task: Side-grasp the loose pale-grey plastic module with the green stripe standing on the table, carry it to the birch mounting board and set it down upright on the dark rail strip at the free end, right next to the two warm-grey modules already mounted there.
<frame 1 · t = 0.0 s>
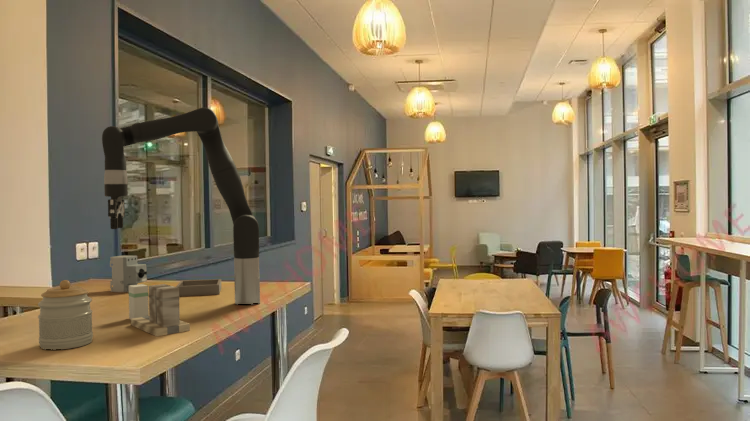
hand: (117, 228, 198), 29 cm above the table, tool pointing down, fingers open, 8 cm apart
coaster tray: (199, 292, 235), on the table
module: (138, 318, 183), on the table
circuit breaker: (130, 291, 242), on the table
rail board: (159, 327, 170), on the table
jar: (66, 345, 151), on the table
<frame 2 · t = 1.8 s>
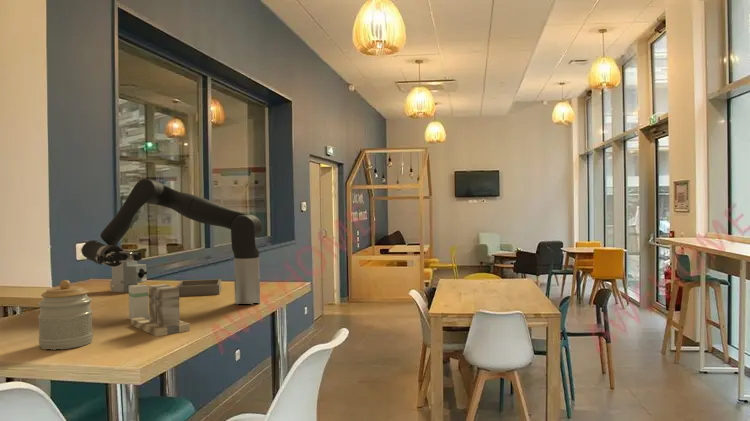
hand: (125, 258, 191), 19 cm above the table, tool horizontal, fingers open, 8 cm apart
nothing on the table moved.
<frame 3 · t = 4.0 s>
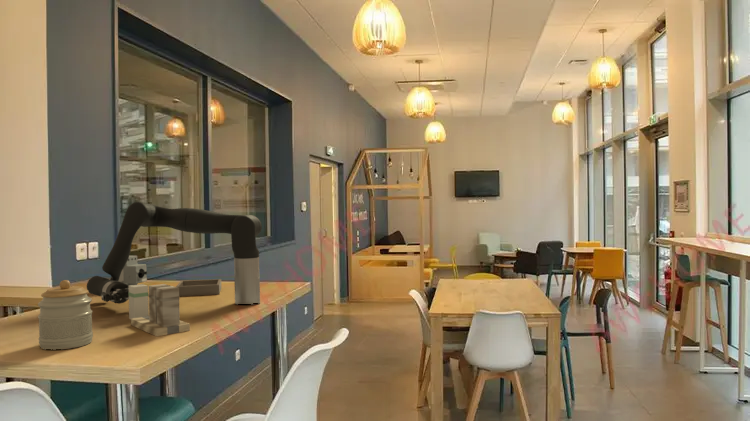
hand: (132, 296, 188), 6 cm above the table, tool horizontal, fingers open, 8 cm apart
nothing on the table moved.
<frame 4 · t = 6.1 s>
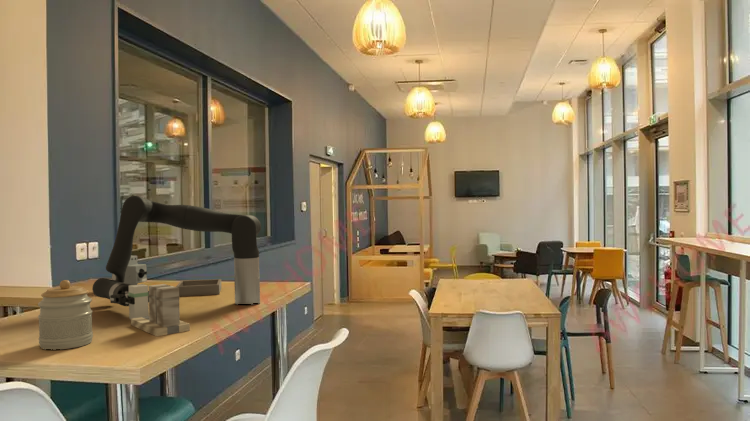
hand: (141, 300, 181), 6 cm above the table, tool horizontal, fingers closed on module, 4 cm apart
module: (139, 318, 183), on the table, touching gripper
everything else where it was.
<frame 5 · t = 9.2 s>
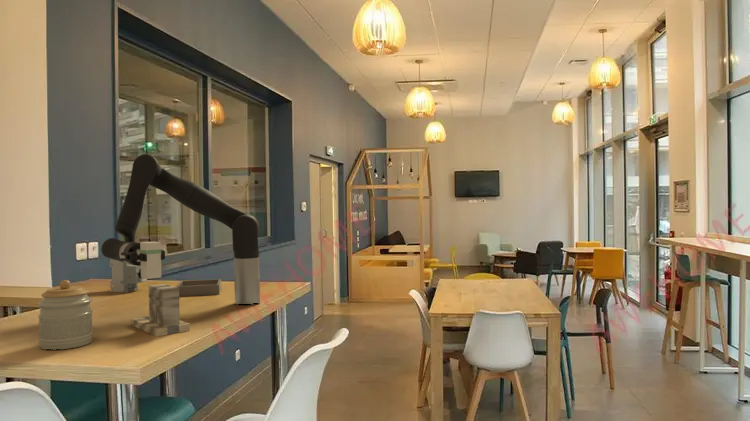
hand: (154, 257, 172), 21 cm above the table, tool horizontal, fingers closed on module, 4 cm apart
module: (151, 277, 174), point 15 cm above the table, touching gripper
everything else where it was.
when the fingers open (10 cm above the table, at t = 12.2 s): module drops 1 cm, resting on rail board.
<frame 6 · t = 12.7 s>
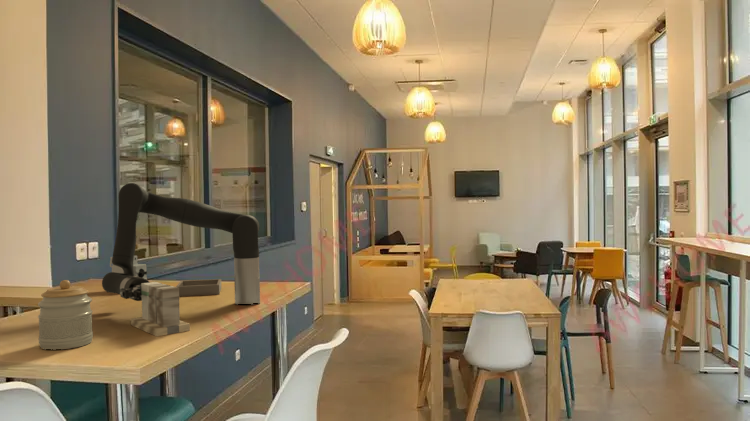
hand: (154, 293, 172), 10 cm above the table, tool horizontal, fingers open, 8 cm apart
module: (152, 318, 174), point 2 cm above the table, touching rail board
everything else where it was.
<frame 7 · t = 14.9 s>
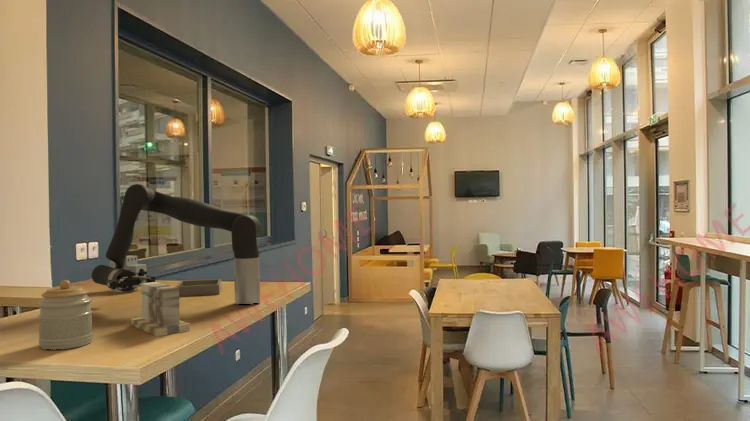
hand: (139, 284, 182), 12 cm above the table, tool horizontal, fingers open, 8 cm apart
nothing on the table moved.
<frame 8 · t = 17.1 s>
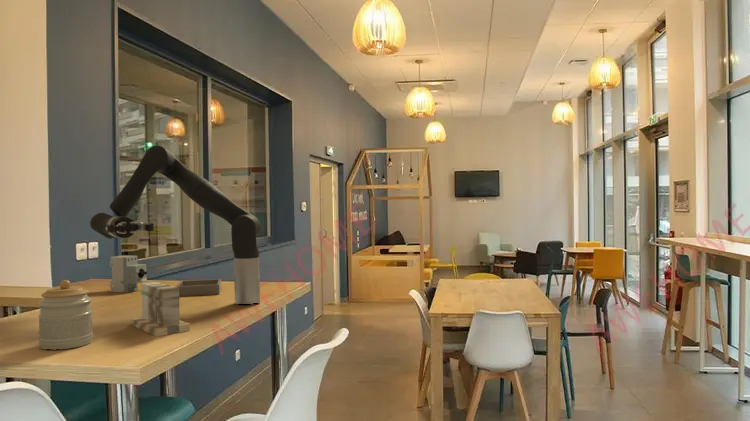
hand: (137, 228, 182), 30 cm above the table, tool horizontal, fingers open, 8 cm apart
nothing on the table moved.
at the end: module 0.2 cm from the target spot on the rail board, point 2.0 cm above the rail board's base; module tilted 0°; the gripper is holding nothing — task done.
